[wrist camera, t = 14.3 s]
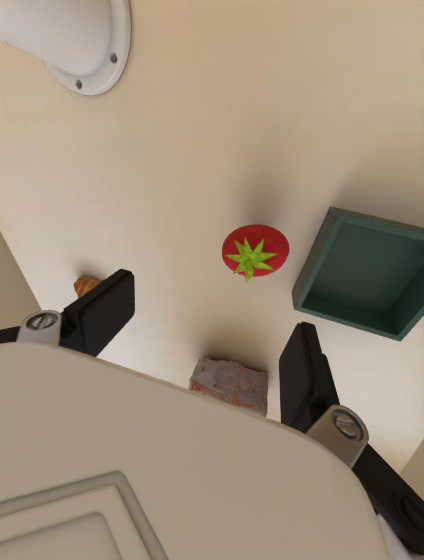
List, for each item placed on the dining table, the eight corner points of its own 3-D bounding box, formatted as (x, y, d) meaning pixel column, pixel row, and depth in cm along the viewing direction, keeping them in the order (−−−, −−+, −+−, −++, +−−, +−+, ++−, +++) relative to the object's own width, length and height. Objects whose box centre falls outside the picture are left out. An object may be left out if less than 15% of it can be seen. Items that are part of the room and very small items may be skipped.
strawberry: (287, 256, 29) (291, 294, 21) (232, 259, 31) (216, 293, 23) (287, 212, 27) (292, 233, 18) (227, 218, 29) (207, 239, 20)
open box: (330, 206, 25) (339, 213, 21) (451, 234, 23) (484, 246, 20) (291, 292, 31) (293, 309, 28) (384, 319, 30) (400, 342, 26)
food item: (199, 376, 45) (181, 423, 37) (200, 348, 42) (180, 394, 33) (265, 393, 43) (262, 449, 34) (272, 365, 39) (271, 420, 30)
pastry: (76, 287, 43) (60, 297, 39) (88, 266, 39) (71, 275, 36) (113, 317, 44) (101, 329, 41) (128, 299, 41) (115, 311, 37)
